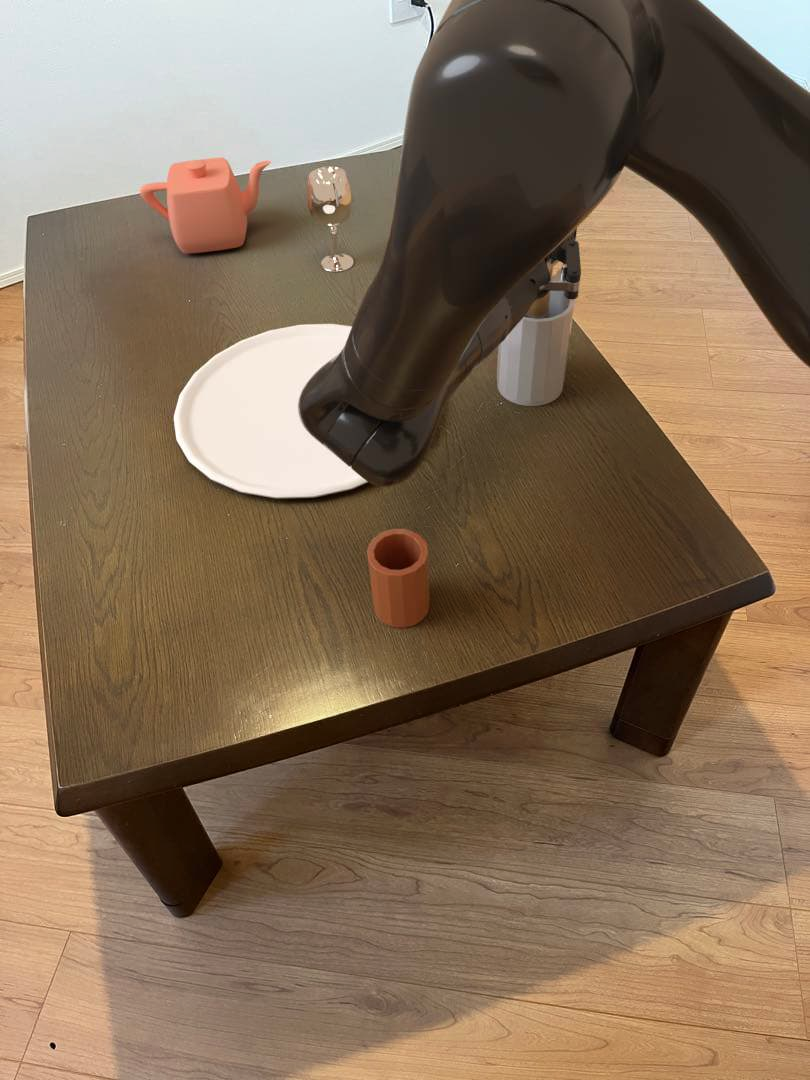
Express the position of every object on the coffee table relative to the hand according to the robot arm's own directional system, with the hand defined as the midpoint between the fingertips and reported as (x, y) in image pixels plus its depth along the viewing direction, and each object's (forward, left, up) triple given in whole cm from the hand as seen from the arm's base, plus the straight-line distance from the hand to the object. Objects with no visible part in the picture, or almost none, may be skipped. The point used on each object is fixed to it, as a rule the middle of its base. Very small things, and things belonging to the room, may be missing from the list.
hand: (556, 221), depth 81 cm
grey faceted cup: (+1, +3, -18) cm, 18 cm away
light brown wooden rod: (+1, +3, -14) cm, 15 cm away
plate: (+24, +13, -18) cm, 33 cm away
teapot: (+50, -19, -18) cm, 56 cm away
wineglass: (+31, -16, -18) cm, 39 cm away
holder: (+6, +36, -18) cm, 41 cm away
